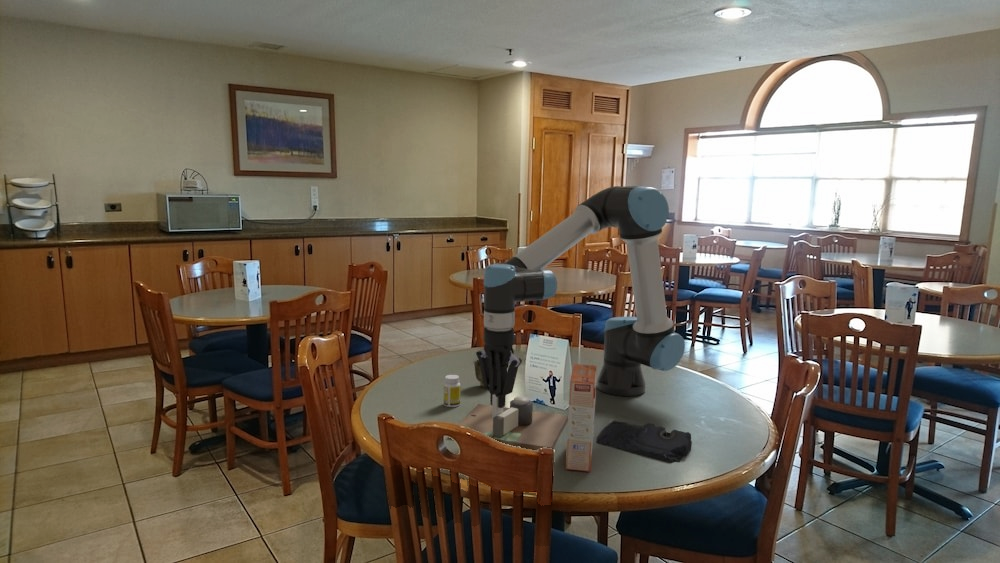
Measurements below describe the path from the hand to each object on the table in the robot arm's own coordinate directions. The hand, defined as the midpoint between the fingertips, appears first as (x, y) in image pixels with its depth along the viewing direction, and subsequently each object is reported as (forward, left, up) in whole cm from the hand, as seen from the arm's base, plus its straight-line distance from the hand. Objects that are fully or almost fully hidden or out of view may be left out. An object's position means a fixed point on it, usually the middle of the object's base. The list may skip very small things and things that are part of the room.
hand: (497, 418), depth 152 cm
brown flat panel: (-2, -5, -5) cm, 7 cm away
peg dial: (-3, -4, -3) cm, 6 cm away
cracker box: (-22, +6, -5) cm, 23 cm away
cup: (+15, -36, -5) cm, 40 cm away
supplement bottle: (+19, -17, -5) cm, 26 cm away
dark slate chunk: (-36, -8, -5) cm, 37 cm away
